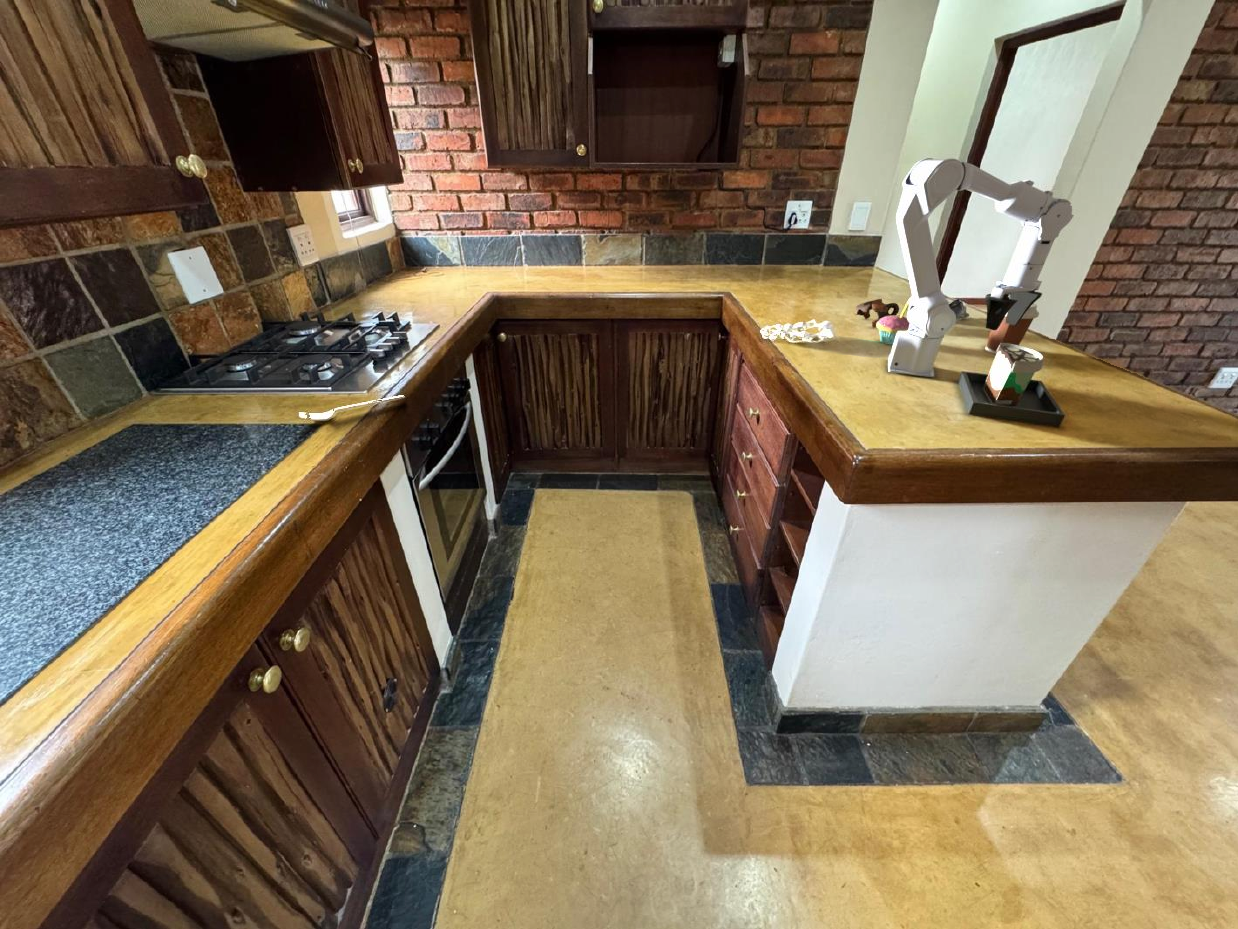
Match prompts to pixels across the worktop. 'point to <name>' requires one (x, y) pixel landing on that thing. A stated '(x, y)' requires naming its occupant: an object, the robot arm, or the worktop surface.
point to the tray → (1029, 409)
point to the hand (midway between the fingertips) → (1001, 326)
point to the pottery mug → (876, 310)
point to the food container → (1011, 373)
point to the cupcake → (892, 326)
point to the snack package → (959, 309)
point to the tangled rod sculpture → (804, 336)
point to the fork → (332, 413)
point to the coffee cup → (1011, 330)
